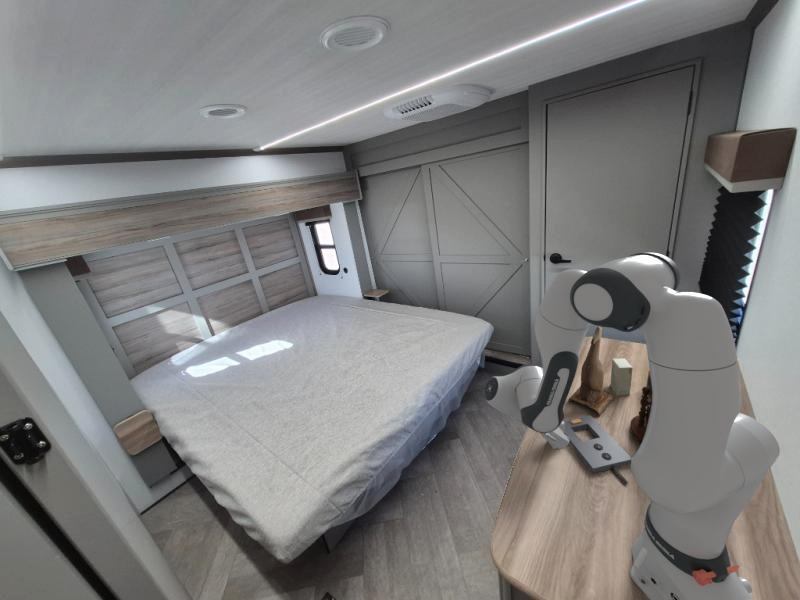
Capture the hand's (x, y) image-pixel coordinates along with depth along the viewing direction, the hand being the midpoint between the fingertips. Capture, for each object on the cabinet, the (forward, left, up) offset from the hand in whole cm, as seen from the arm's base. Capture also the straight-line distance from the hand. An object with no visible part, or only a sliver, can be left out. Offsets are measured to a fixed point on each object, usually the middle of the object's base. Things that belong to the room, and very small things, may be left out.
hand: (557, 427), depth 98 cm
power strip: (-5, -9, -7) cm, 13 cm away
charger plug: (0, +1, -7) cm, 7 cm away
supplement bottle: (+11, -44, -7) cm, 46 cm away
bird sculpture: (+14, -21, -7) cm, 26 cm away
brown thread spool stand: (-6, -29, -7) cm, 31 cm away
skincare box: (+16, -34, -7) cm, 39 cm away
